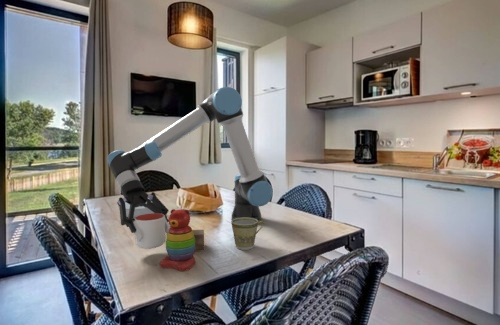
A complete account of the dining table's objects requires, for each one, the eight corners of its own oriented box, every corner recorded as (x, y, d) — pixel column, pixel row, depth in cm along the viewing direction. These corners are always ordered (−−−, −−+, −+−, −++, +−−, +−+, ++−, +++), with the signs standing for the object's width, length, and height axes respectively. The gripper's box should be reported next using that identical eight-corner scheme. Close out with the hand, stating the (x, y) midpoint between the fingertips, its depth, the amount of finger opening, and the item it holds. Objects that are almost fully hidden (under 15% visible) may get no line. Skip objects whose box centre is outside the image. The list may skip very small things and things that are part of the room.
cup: (148, 252, 96) (147, 222, 95) (129, 246, 101) (128, 218, 100) (171, 242, 104) (170, 215, 104) (153, 238, 110) (151, 211, 109)
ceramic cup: (237, 253, 104) (237, 226, 103) (227, 244, 113) (227, 218, 112) (269, 248, 109) (269, 221, 108) (258, 239, 118) (258, 215, 117)
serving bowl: (133, 224, 139) (133, 210, 139) (111, 217, 152) (110, 204, 152) (169, 215, 156) (169, 202, 155) (146, 210, 169) (146, 198, 168)
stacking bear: (156, 267, 93) (155, 211, 92) (175, 255, 102) (174, 205, 101) (185, 272, 89) (184, 215, 88) (202, 259, 99) (201, 207, 97)
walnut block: (204, 244, 113) (203, 229, 112) (204, 250, 107) (204, 234, 107) (188, 245, 112) (187, 230, 112) (187, 251, 106) (187, 235, 106)
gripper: (154, 187, 120) (178, 232, 111) (96, 196, 103) (119, 250, 94) (160, 175, 116) (186, 221, 107) (102, 182, 99) (126, 238, 90)
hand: (155, 235), depth 100 cm, fingers closed on cup, 10 cm apart
